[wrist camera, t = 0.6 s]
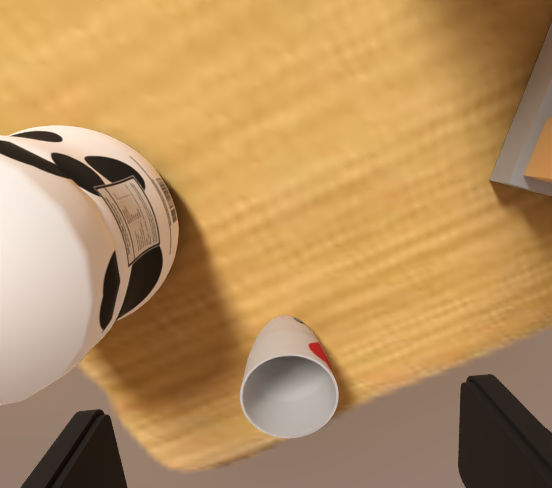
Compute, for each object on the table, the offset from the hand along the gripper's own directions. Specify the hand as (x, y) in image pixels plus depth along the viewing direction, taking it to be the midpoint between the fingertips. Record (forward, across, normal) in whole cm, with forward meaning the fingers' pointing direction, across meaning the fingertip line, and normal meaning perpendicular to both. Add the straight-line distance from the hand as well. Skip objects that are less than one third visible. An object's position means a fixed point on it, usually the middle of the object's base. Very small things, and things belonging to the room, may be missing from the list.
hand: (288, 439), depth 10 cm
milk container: (+28, +17, -2) cm, 33 cm away
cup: (+28, 0, +12) cm, 31 cm away
